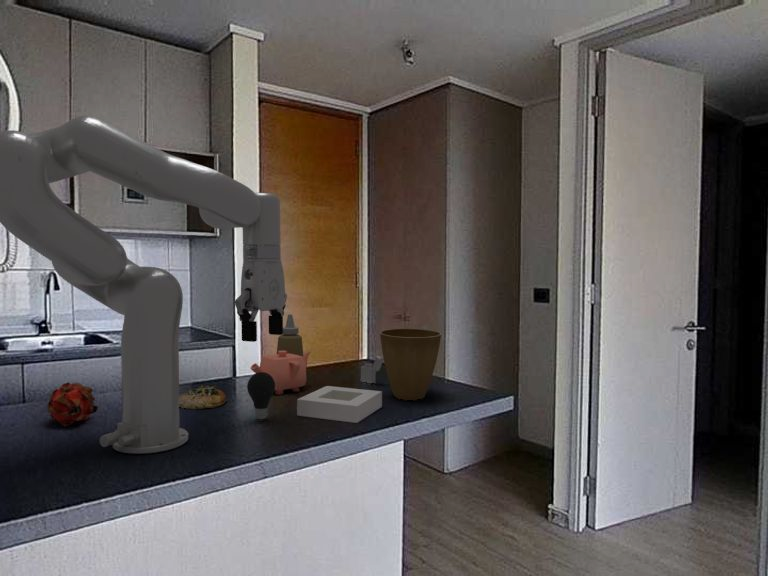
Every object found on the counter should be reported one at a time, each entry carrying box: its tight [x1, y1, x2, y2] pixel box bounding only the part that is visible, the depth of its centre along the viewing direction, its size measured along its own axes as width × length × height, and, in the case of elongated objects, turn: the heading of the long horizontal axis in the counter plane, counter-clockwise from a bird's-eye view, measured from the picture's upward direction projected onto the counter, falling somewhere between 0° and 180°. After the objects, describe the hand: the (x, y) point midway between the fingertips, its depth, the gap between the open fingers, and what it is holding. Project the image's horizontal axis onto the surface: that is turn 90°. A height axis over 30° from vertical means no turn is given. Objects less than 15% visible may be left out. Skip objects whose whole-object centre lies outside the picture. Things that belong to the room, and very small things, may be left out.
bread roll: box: [179, 385, 228, 410], centre depth 129 cm, size 11×11×5 cm
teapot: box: [250, 350, 313, 395], centre depth 143 cm, size 14×12×10 cm
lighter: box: [360, 354, 384, 384], centre depth 152 cm, size 7×2×8 cm, turn 48°
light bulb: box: [246, 372, 276, 422], centre depth 116 cm, size 6×6×10 cm
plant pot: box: [379, 327, 442, 401], centre depth 137 cm, size 15×15×16 cm
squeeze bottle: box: [276, 314, 304, 357], centre depth 156 cm, size 8×8×18 cm
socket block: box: [296, 385, 383, 424], centre depth 124 cm, size 14×14×4 cm
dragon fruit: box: [46, 382, 100, 427], centre depth 114 cm, size 8×8×12 cm
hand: (263, 337), depth 116 cm, fingers open, 9 cm apart
